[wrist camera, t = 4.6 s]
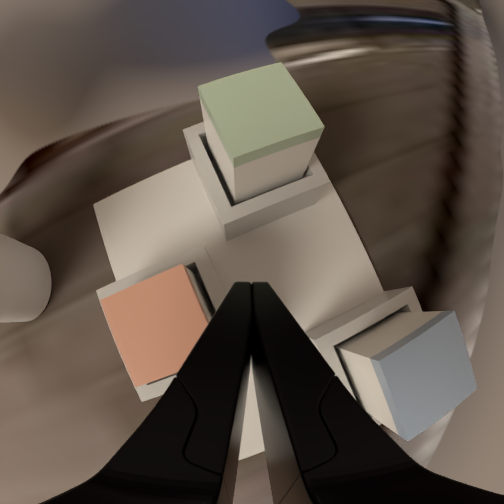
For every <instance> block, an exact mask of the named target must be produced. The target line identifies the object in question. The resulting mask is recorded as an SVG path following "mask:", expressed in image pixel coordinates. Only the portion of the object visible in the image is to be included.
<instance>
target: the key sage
mask: <svg viewBox="0 0 504 504" xmlns="http://www.w3.org/2000/svg"><path fill="white" fill-rule="evenodd" d="M198 90H199V96H200V102H201V108H202V114H203V120H204V126H205V131H206V137H207V143H208V146H209V149H210V151H211V153H212V155H213V157H214V160H215V162H216V164H217V166H218V168H219V170H220V173H221V175H222V177H223V179H224V181H225V184H226V186H227V188H228V190H229V192H230V194H231V197H232V199H233V201H234V203H235V204H238V203H240V202H243V201H245V200H248V199H250V198H253V197H255V196H258V195H260V194H263V193H265V192H268V191H270V190H273V189H275V188H278V187H280V186H283V185H285V184H288V183H291V182H293V181H296V180H298V179H301V178H302V176H303V174H304V172H305V170H306V167H307V165H308V163H309V161H310V159H311V156H312V154H313V152H314V150H315V148H316V145H317V143H318V141H319V139H320V136H321V134H322V132H323V130H324V127H325V126H324V125H323V123H322V122H321V120H320V118H319V117H318V115H317V114H316V112H315V111H314V109H313V108H312V106H311V105H310V103H309V101H308V100H307V98H306V97H305V96H304V94H303V93H302V91H301V90H300V88H299V87H298V85H297V84H296V82H295V81H294V80H293V78H292V77H291V75H290V74H289V72H288V71H287V70H286V68H285V67H284V66H283V64H282V63H281V62H279V63H275V64H271V65H268V66H263V67H260V68H256V69H252V70H249V71H245V72H242V73H238V74H234V75H231V76H228V77H225V78H221V79H218V80H215V81H212V82H209V83H206V84H203V85H200V86H198Z"/></svg>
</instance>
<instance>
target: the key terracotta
mask: <svg viewBox="0 0 504 504" xmlns="http://www.w3.org/2000/svg"><path fill="white" fill-rule="evenodd" d="M100 302H101V305H102V307H103V310H104V313H105V316H106V318H107V321H108V324H109V326H110V329H111V332H112V334H113V337H114V339H115V342H116V344H117V347H118V349H119V351H120V354H121V356H122V359H123V361H124V363H125V365H126V368H127V370H128V372H129V374H130V377H131V379H132V381H133V383H134V385H135V388H136V387H139V386H141V385H144V384H147V383H150V382H153V381H155V380H158V379H161V378H164V377H166V376H169V375H172V374H174V373H177V372H178V371H179V369H180V368H181V366H182V365H183V363H184V361H185V360H186V358H187V357H188V355H189V353H190V352H191V350H192V349H193V347H194V345H195V344H196V342H197V341H198V339H199V338H200V336H201V334H202V333H203V331H204V330H205V328H206V326H207V325H208V323H209V322H210V320H211V319H212V317H213V315H214V312H213V309H212V307H211V305H210V303H209V300H208V298H207V296H206V293H205V291H204V289H203V286H202V284H201V281H200V279H199V277H198V276H196V275H195V274H194V273H193V272H192V271H190V270H189V269H188V268H187V267H186V266H184V265H183V264H180V265H178V266H176V267H173V268H171V269H169V270H167V271H164V272H162V273H160V274H157V275H155V276H153V277H151V278H148V279H146V280H144V281H142V282H139V283H137V284H135V285H133V286H130V287H128V288H126V289H124V290H121V291H119V292H117V293H115V294H112V295H110V296H108V297H106V298H103V299H101V300H100Z"/></svg>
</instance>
